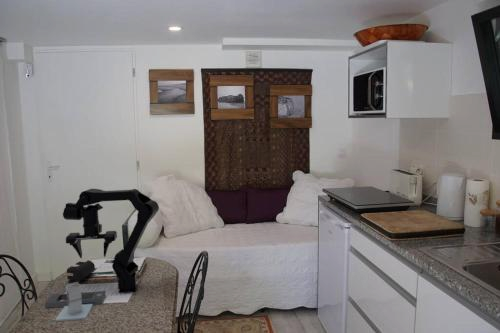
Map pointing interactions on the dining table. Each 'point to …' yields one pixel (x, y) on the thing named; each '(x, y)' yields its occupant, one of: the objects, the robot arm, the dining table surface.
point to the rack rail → (86, 297)
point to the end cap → (80, 271)
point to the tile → (66, 316)
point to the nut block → (74, 298)
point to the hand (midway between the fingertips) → (93, 257)
